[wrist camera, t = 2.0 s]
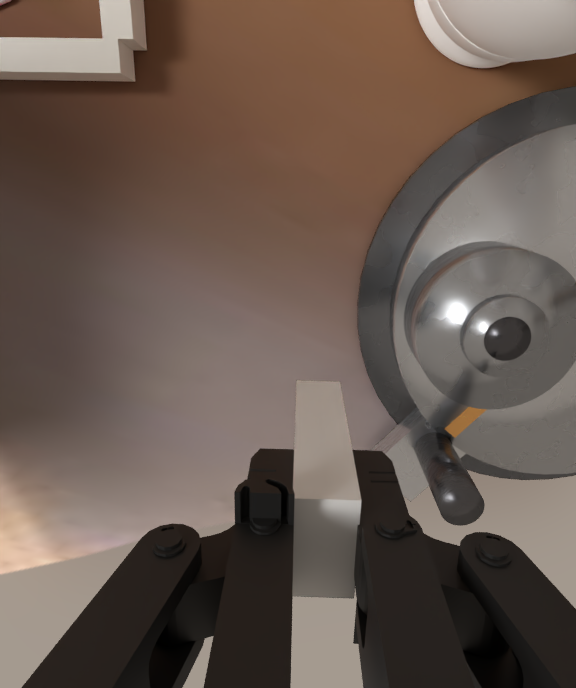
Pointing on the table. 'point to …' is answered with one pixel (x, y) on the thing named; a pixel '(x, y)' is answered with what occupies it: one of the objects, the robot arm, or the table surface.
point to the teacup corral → (81, 50)
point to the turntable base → (405, 218)
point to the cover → (492, 324)
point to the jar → (499, 29)
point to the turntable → (432, 406)
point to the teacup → (4, 1)
